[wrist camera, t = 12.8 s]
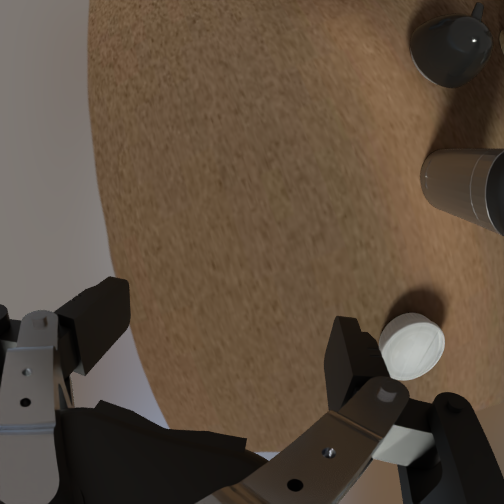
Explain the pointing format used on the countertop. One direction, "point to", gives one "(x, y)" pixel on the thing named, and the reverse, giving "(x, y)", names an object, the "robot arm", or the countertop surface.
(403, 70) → the countertop surface
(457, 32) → the roly-poly penguin toy
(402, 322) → the ramekin
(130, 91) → the countertop surface
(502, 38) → the vase
